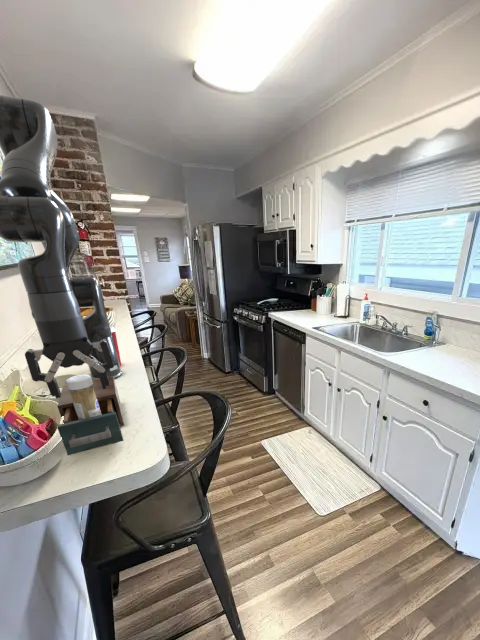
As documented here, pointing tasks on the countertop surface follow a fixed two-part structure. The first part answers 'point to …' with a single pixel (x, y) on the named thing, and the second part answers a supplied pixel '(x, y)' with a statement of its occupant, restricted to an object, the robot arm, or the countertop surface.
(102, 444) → the drawer
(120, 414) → the cabinet
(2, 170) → the robot arm
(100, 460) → the countertop surface
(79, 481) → the countertop surface
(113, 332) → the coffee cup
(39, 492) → the countertop surface
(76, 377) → the sprinkles bottle
